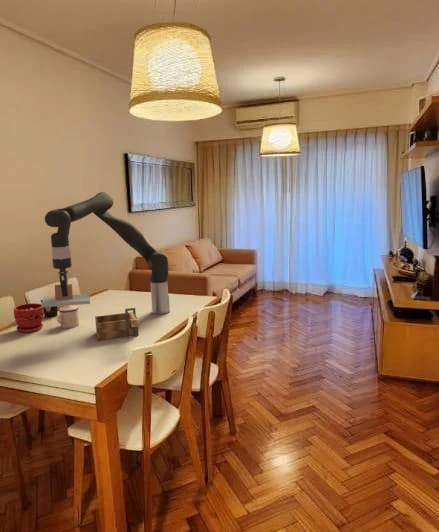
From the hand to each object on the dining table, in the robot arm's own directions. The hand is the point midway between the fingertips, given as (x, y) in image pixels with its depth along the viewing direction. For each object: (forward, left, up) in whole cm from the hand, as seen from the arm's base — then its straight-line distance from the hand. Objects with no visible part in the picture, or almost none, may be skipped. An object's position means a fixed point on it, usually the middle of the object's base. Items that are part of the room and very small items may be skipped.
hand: (65, 295), depth 172 cm
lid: (0, +1, -3) cm, 3 cm away
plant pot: (+18, -23, -21) cm, 36 cm away
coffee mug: (+9, -43, -21) cm, 49 cm away
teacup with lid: (+1, -21, -21) cm, 30 cm away
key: (-27, +17, -11) cm, 34 cm away
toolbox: (-21, +1, -21) cm, 29 cm away
